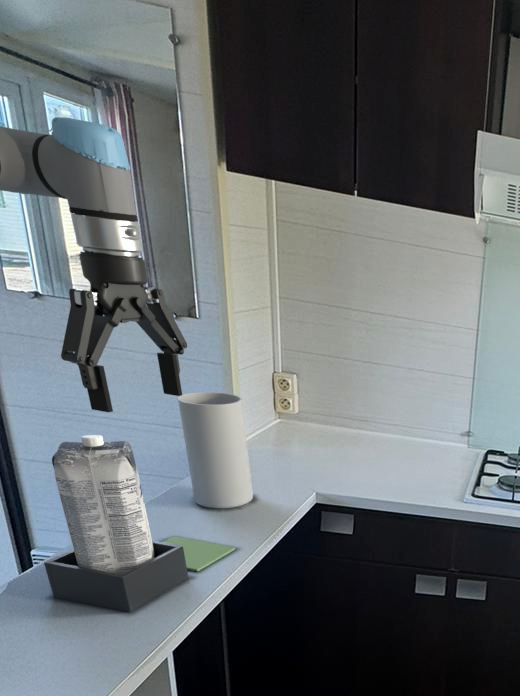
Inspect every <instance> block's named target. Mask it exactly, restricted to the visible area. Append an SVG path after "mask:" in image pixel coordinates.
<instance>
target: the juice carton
mask: <svg viewBox="0 0 520 696" xmlns="http://www.w3.org/2000/svg"><path fill="white" fill-rule="evenodd" d="M80 439H81V442H80V441H79V442H78V441H62V442H61V443H60V444H59V446H58V447H57V451H55V453H54V454H53V455H52V458H51V464H52V467H53V469H54V472H53V473H54V477H55V478H54V479H55V482H56V487H57V490H58V494H59V498H60V502H61V505H62V506H61V507H62V509H63V513H64V517H65V521H66V524H67V525H66V526H67V529H68V532H69V537H70V540H71V545H72V547H73V550H74V552H75V555H76V559H77V563H78V566H79V567H83V568H89V569H94V570H99V571H104V572H109V573H115V574H120V575H123V574H125V573H127V572H129V571H131V570H133V569H135V568H137V567H139V566H141V565H142V564H144V563H146V562H148V561H150V560H152V559H154V558H155V556H154V549H153V543H152V541H153V539H152V533H151V530H150V524H149V520H148V519H149V518H148V515H147V509H146V505H145V499H144V494H143V490H142V489H143V488H142V484H141V479H140V474H139V470H138V467H137V466H138V465H137V462H136V459H135V456H134V452H133V449H132V445H131V444H130V442H128V441H126V440H113V441H105V442H104V437H103V435H101V434H86V435H82V436H80Z"/></svg>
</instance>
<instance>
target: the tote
mask: <svg viewBox="0 0 520 696" xmlns="http://www.w3.org/2000/svg"><path fill="white" fill-rule="evenodd" d="M152 543H153V549H154V556H155V558H154V559H152V560H150V561H148V562H146V563H144V564H142V565H141V566H139V567H137V568H135V569H133V570H131V571H129V572H127V573H125V574H123V575H120V574H115V573H109V572H104V571H99V570H94V569H89V568H83V567H79V566H78V563H77V559H76V555H75V552H74V549H71V550H70V551H69V550H68V551H67V552H64V553H62V554H60V555H58V556H55V557H53V558H50V559H48V560H47V561H44V562H43V565H44V569H45V571H46V575H47V578H48V582H49V586H50V590H51V592H52V597H53V598H56V599H62V600H66V601H71V602H75V603H80V604H81V603H82V604H87V605H90V606H91V605H92V606H97V607H100V608H101V607H102V608H107V609H112V610H118V611H122V612H127V613H132V612H133V611H135V610H137V609H139V608H140V607H142V606H144V605H146V604H147V603H149V602H151V601H152V600H154V599H155V598H157V597H159V596H161V595H162V594H163V593H165V592H168V591H169V590H171V589H172V588H174V587H176V586H177V585H180V584H181V583H183V582H185V581H186V580H188V579H189V578H190V577H189V572H188V570H187V566H186V561H185V555H184V550H183V546H179V545H174V544H168V543H163V541H157V540H152Z"/></svg>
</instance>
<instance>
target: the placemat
mask: <svg viewBox="0 0 520 696" xmlns="http://www.w3.org/2000/svg"><path fill="white" fill-rule="evenodd" d="M162 542H163V543H168V544H174V545H179V546H183V550H184V555H185V561H186V566H187V571H191V572H192V571H193V572H199V571H201V570H203V569H204V568H206V567H208V566H209V565H211V564H213V563H215V562H216V561H218V560H219V559H221V558H223V557H225V556H227V555H229V554H230V553H232V552H233V551H235V550H236V547H234V546H228V545H223V544H218V543H213V542H208V541H203V540H202V541H201V540H196V539H191V538H185V537H182V536H181V537H180V536H175V535H173V536H171V537H169V538H167V539H166V540H163V541H162Z"/></svg>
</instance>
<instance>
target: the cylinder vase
mask: <svg viewBox="0 0 520 696" xmlns="http://www.w3.org/2000/svg"><path fill="white" fill-rule="evenodd" d="M177 402H178V408H179V414H180V420H181V421H180V422H181V427H182V432H183V439H184V444H185V451H186V457H187V464H188V468H189V476H190V481H191V487H192V494H193V499H194V502H195V503H196V504H197V505H199V506H202V507H205V508H210V509H232V508H237V507H241V506H244V505H247V504H249V503H250V502H251V501H252V500H253V498H254V493H253V484H252V483H253V482H252V475H251V466H250V458H249V450H248V442H247V441H248V440H247V435H246V434H247V433H246V426H245V416H244V408H243V400H242V397H241V396H238V395H237V394H232V393H226V392H214V391H202V392H189V393H184V394H182V396H177Z"/></svg>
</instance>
